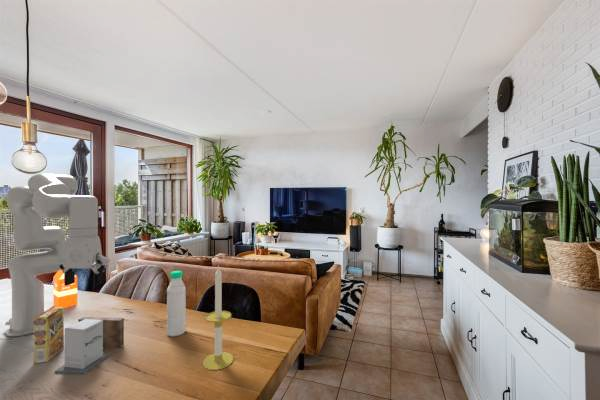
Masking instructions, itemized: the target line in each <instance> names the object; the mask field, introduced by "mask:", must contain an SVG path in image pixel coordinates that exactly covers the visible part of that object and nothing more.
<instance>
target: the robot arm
mask: <svg viewBox="0 0 600 400" xmlns="http://www.w3.org/2000/svg"><path fill="white" fill-rule="evenodd" d="M78 189H79V183H78V181H77V180H76V178H75V177H74V176H72V175H67V174H57V173H55V174H54V173H38V174H35V175H31V177H30V178H29V179H28V181H27V186H25V185H23V186H22V185H21V186H14V187H11V188H10V189H8V191H7V194H6V203H7V205H8V208H9V210H10V213H11V214H12V219H13V245H14V248H15V249H16V250H18V251H21V252H22V251H23V252H24V251H26V252H27V251H34V250H35V251H36V250H43V249H44V250H45V249H49V250H46V251H39V252H30V253H29V252H28V253H23V254H20V255H16V256H14V257H12V258H10V260H9V261H8V265H7V266H8V273H9V277H10V283H11V318H9V320H8V321H6V322H5V323H4V325H5V326H9V328H8V329H7V330H6V333H5V335H6V336H7V337H12V338H13V337H14V338H15V337H22V336H27V335H32V334H34V317H37V316H38V315H40V314H42V313H43V312H45V284H44V283H43V281H41V279H38V278H37V276H40V275H45V274H51V273H52V274H53V273H57V272H58V271H60V270H62V273H65V274H64V285H65V286H67V285H70V284H73V283H75V275H76V272H75V271H74V270H75V269H77V270H89V269H91V270H92V271H93V274H92V287H96V286H99V285H102V284H103V273H104V272H105V270H106V269H107V268H108V267H109V263H110V261H111V260H110V259H109V258H108V257H106V256H104V255H103V251H102V243H101V239H100V236H98V235H99V232H98V231H99V229H98V228H99V225H98V224H99V221H98V219H99V218H98V216H99V212H98V211H99V206H98V205H99V204H98V203H99V200H98V198H97V197H96V196H94V195H83V194H82V195H79V194H77V191H78ZM76 194H77V195H76ZM43 218H48V219H55V218H68V229H67V230H66V233H67V234H68V237H66V233H65V231H64V229H63V227H60V226H58V225H47V226H43Z"/></svg>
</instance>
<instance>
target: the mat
mask: <svg viewBox="0 0 600 400" xmlns="http://www.w3.org/2000/svg"><path fill="white" fill-rule="evenodd" d="M110 355H111V354H110V353H103V356H102V357H101V358H99V359H97V360H96V361H94V362H93V363H91V364H90V365H88V366H86V367H85V368H84V369H78V368H70V367H64V364H63V365H61V366H60V367H59V368H57V369H55V370H54V373H55V374H76V375H78V374H79V375H86V374H87V373H88V372H90V371H91V370H92V369H94V368H96V367H97V366H98V365H99V364H101V363H102V362H103V361H104V360H106V359H107V358H108V357H110Z"/></svg>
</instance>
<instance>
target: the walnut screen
mask: <svg viewBox="0 0 600 400" xmlns="http://www.w3.org/2000/svg"><path fill="white" fill-rule="evenodd" d="M84 319H95V320H103V348H114V347H115V348H116V349H117V348H121V347H123V346H124V345H125V339H124V338H125V337H124V336H125V335H124V334H125V332H124V331H125V325H124V323H125V317H98V316H96V317H95V316H94V317H93V316H82V317H79V318H78V322H80V321H82V320H84ZM78 322H77V323H78Z"/></svg>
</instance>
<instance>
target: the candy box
mask: <svg viewBox="0 0 600 400" xmlns="http://www.w3.org/2000/svg"><path fill="white" fill-rule="evenodd" d="M64 325H65V324H64V308H63V307H55V306H54V307H50V308H48V309H47V310H44V312H43V313H42V314H40V315H38V316H37V317H34V333H33V356H34V357H33V363H34V364H39V363H46V362H49V361H50V360H51V359H53V358H54V357H55V356H56V355H57V354H58V353H60V352H61V351H62V350H63V349H65V326H64Z"/></svg>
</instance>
